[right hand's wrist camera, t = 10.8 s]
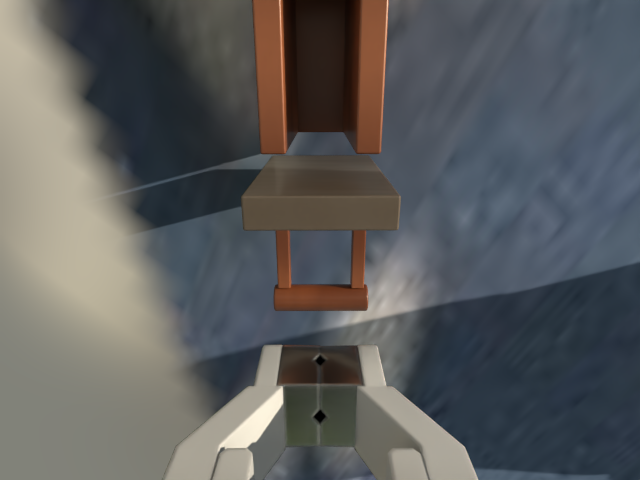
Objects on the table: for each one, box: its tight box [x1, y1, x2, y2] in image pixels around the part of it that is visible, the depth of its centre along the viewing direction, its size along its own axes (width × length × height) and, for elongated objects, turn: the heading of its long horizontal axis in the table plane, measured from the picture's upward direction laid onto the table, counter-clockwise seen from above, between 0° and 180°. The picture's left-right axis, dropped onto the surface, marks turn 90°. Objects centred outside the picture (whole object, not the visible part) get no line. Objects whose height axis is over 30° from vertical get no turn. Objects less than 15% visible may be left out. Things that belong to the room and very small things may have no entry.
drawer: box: [241, 0, 401, 311], centre depth 15 cm, size 22×5×9 cm, turn 0°
